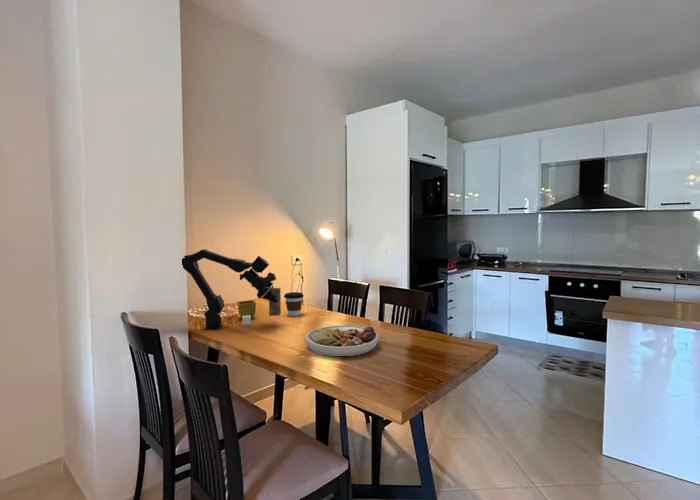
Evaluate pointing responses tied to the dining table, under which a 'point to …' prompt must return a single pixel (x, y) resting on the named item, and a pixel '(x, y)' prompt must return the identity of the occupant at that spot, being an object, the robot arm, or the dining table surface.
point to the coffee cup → (293, 303)
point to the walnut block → (275, 307)
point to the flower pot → (247, 308)
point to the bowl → (342, 340)
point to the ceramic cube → (246, 320)
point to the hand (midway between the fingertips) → (277, 301)
